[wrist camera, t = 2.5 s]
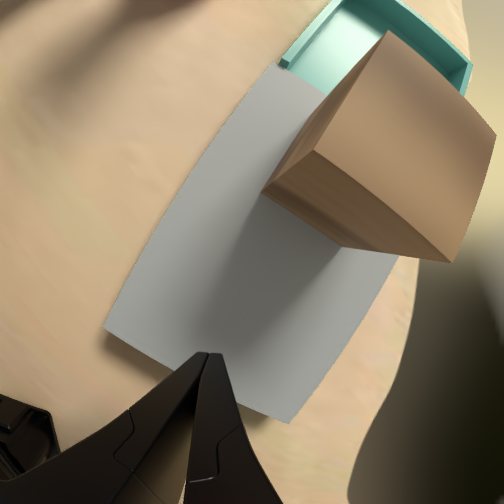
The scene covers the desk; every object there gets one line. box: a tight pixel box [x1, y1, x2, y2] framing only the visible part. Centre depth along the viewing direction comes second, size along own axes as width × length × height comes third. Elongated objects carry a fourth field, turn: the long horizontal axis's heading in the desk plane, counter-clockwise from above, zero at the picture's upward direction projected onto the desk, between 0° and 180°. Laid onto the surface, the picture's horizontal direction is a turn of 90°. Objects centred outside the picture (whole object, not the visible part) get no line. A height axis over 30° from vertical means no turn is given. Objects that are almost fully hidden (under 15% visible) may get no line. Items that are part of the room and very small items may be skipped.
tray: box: [279, 0, 473, 97], centre depth 20 cm, size 14×13×4 cm
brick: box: [261, 30, 496, 263], centre depth 13 cm, size 6×6×10 cm
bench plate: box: [103, 61, 399, 424], centre depth 20 cm, size 20×14×3 cm
